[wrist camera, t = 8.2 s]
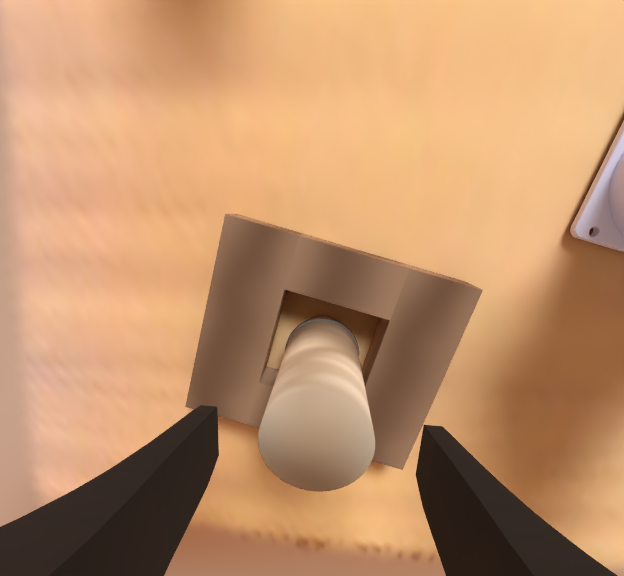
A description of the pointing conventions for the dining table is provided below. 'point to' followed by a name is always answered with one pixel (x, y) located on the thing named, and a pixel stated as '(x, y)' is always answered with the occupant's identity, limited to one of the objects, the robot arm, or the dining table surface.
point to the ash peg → (318, 410)
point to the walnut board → (337, 290)
